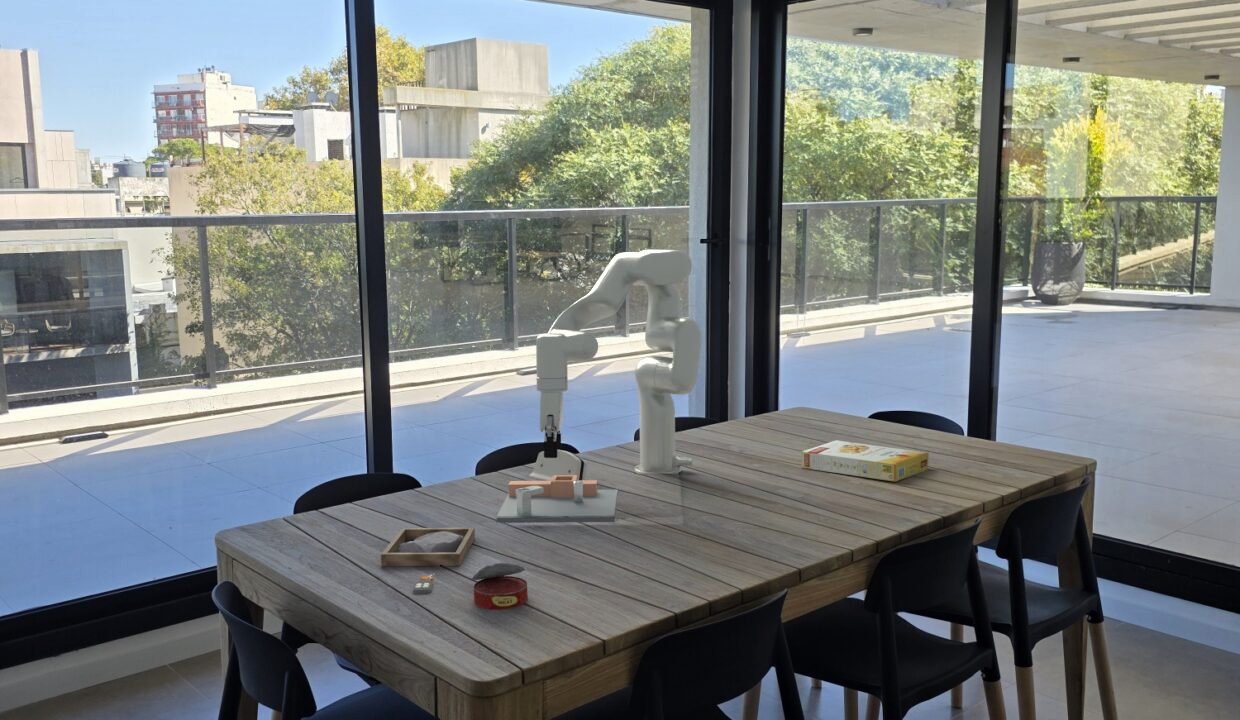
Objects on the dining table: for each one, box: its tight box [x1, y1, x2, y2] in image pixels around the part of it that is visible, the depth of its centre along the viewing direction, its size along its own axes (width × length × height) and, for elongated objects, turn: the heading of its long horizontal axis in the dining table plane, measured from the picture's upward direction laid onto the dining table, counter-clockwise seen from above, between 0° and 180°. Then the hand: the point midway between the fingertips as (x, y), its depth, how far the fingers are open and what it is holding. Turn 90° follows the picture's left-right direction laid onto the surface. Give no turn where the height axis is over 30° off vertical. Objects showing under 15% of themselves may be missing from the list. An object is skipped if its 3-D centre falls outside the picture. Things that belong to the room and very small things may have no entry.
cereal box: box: [801, 439, 929, 483], centre depth 291 cm, size 20×6×28 cm
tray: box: [380, 527, 476, 567], centre depth 226 cm, size 16×18×2 cm
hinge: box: [528, 449, 588, 481], centre depth 280 cm, size 17×5×10 cm, turn 47°
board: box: [496, 489, 619, 524], centre depth 257 cm, size 27×23×2 cm
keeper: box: [516, 485, 544, 517], centre depth 249 cm, size 6×3×7 cm, turn 128°
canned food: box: [471, 562, 528, 611], centre depth 197 cm, size 11×10×10 cm
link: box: [508, 475, 598, 498], centre depth 265 cm, size 22×6×4 cm, turn 88°
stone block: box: [399, 531, 464, 553], centre depth 226 cm, size 12×5×10 cm
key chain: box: [412, 573, 435, 595], centre depth 208 cm, size 13×4×2 cm, turn 4°
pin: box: [574, 480, 583, 503], centre depth 257 cm, size 2×2×6 cm
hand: (552, 453), depth 263 cm, fingers open, 9 cm apart
